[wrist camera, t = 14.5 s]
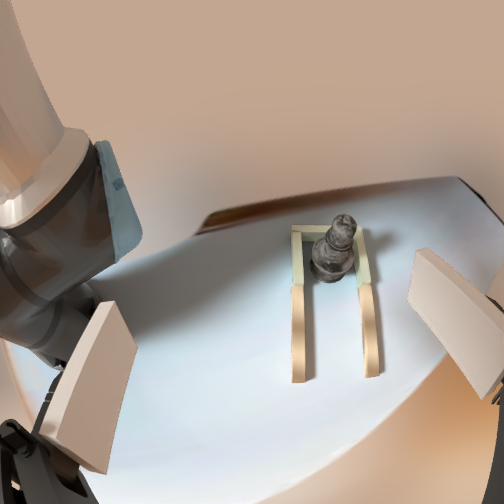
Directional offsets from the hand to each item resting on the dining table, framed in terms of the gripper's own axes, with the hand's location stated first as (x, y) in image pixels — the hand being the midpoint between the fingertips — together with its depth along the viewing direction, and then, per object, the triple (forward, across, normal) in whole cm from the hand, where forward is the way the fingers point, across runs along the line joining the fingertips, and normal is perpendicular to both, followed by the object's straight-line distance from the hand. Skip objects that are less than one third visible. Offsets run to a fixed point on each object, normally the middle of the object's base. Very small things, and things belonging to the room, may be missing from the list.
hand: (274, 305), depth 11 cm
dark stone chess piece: (+24, +10, -13) cm, 29 cm away
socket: (+24, +10, -13) cm, 29 cm away
